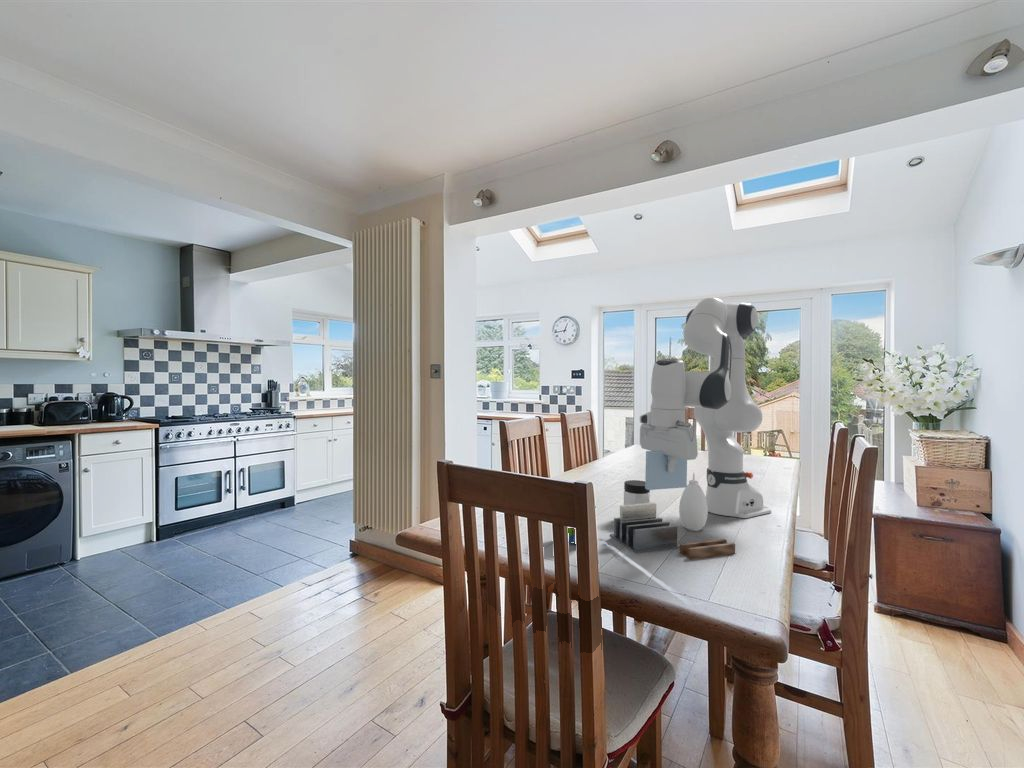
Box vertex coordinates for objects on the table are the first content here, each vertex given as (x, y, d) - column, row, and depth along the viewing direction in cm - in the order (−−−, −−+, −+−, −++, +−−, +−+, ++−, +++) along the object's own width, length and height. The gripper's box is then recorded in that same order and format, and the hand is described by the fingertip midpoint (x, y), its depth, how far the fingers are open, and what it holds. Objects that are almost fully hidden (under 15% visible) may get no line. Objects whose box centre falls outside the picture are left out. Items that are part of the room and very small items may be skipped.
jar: (655, 520, 150) (656, 483, 150) (640, 525, 145) (641, 487, 145) (632, 513, 157) (633, 478, 157) (617, 518, 152) (618, 482, 152)
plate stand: (722, 549, 125) (722, 538, 125) (736, 556, 120) (736, 544, 120) (678, 555, 121) (678, 543, 121) (691, 562, 116) (691, 550, 116)
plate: (683, 486, 126) (683, 449, 126) (686, 487, 125) (687, 450, 125) (645, 488, 123) (646, 451, 122) (648, 490, 121) (649, 452, 121)
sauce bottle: (712, 533, 138) (713, 473, 138) (695, 537, 134) (696, 476, 134) (690, 525, 145) (691, 468, 145) (673, 529, 141) (674, 471, 141)
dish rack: (651, 533, 138) (652, 499, 138) (682, 550, 124) (682, 513, 124) (609, 538, 134) (610, 503, 133) (636, 556, 120) (636, 517, 120)
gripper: (704, 423, 114) (703, 478, 115) (655, 415, 134) (654, 463, 134) (683, 423, 113) (682, 480, 113) (636, 416, 132) (635, 464, 132)
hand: (666, 470), depth 124 cm, fingers closed on plate, 1 cm apart
